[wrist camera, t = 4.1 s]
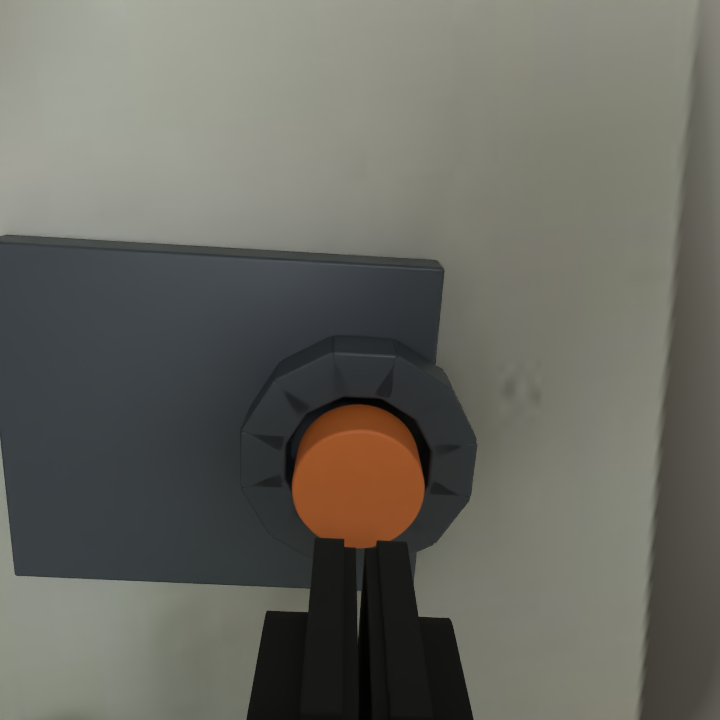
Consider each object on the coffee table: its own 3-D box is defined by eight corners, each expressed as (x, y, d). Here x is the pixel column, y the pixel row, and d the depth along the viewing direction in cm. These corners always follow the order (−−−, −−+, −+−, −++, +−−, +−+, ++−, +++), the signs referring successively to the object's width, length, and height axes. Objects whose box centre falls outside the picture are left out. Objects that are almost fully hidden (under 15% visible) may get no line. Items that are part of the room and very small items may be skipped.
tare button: (423, 406, 17) (430, 433, 16) (412, 515, 18) (419, 553, 16) (298, 399, 17) (293, 426, 15) (295, 510, 18) (289, 547, 16)
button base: (475, 262, 19) (498, 281, 16) (441, 568, 22) (454, 631, 19) (4, 234, 18) (-59, 249, 16) (34, 550, 21) (-15, 611, 18)
